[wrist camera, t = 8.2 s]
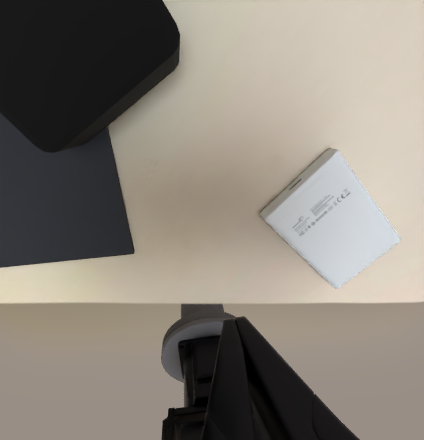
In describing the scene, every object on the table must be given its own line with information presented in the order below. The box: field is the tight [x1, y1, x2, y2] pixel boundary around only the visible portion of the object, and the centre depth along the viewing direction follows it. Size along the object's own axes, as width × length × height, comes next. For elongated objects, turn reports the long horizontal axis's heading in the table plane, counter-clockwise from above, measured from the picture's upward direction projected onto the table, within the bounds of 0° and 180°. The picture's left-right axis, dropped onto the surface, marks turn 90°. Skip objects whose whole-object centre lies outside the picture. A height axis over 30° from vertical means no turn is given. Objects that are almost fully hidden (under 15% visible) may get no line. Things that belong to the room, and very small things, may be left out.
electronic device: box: [0, 0, 180, 153], centre depth 12 cm, size 4×10×10 cm
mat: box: [0, 113, 134, 267], centre depth 16 cm, size 20×13×1 cm, turn 3°
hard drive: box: [260, 148, 401, 289], centre depth 22 cm, size 2×8×12 cm
